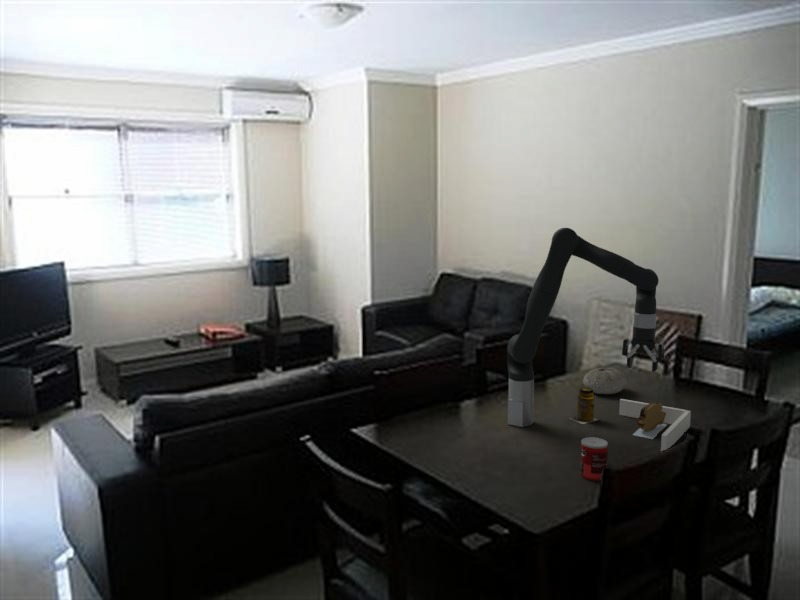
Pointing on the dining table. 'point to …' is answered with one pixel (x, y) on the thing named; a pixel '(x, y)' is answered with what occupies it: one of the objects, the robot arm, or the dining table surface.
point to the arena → (673, 416)
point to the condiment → (585, 406)
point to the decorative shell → (605, 380)
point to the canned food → (593, 457)
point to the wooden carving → (650, 417)
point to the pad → (649, 432)
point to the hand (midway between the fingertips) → (641, 369)
